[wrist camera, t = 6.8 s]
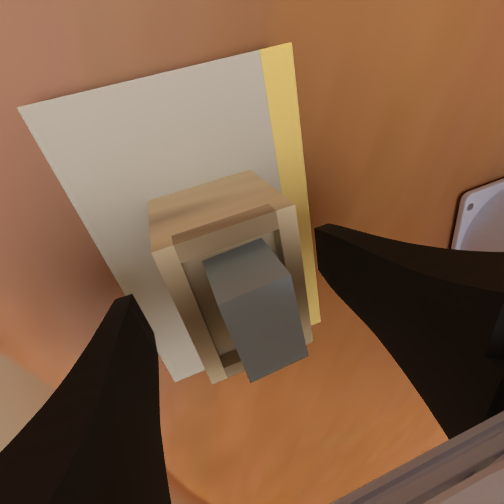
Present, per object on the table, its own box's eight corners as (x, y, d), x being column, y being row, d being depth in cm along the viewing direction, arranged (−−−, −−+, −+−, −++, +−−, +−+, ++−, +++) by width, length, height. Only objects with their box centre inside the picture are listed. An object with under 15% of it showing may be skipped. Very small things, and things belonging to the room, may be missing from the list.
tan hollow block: (273, 282, 15) (312, 341, 12) (194, 312, 15) (212, 384, 11) (250, 169, 12) (295, 204, 9) (147, 200, 11) (151, 252, 8)
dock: (305, 301, 20) (320, 321, 18) (171, 354, 18) (175, 382, 16) (270, 47, 12) (291, 41, 10) (35, 103, 10) (16, 107, 9)
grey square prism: (281, 311, 11) (308, 355, 9) (232, 333, 11) (250, 382, 9) (261, 237, 9) (290, 274, 8) (201, 260, 9) (217, 304, 7)
